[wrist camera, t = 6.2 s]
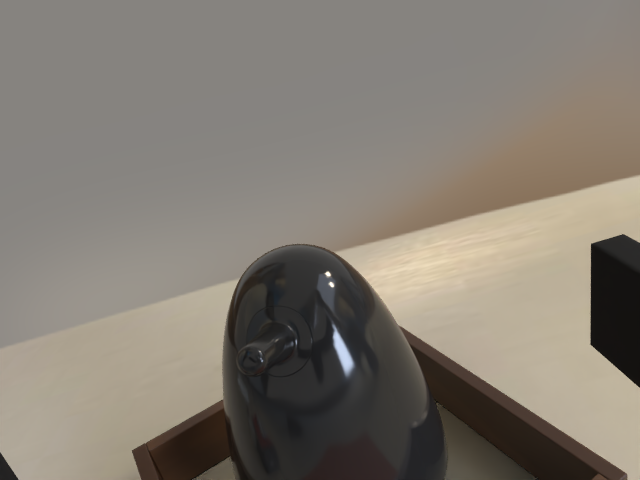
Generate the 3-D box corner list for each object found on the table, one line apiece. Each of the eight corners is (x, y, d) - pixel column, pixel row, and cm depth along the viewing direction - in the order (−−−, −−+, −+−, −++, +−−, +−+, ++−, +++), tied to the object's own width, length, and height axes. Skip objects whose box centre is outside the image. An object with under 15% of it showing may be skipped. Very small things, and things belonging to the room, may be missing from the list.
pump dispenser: (231, 604, 24) (99, 343, 18) (289, 428, 33) (216, 213, 27) (458, 628, 21) (400, 327, 15) (454, 429, 30) (417, 187, 24)
